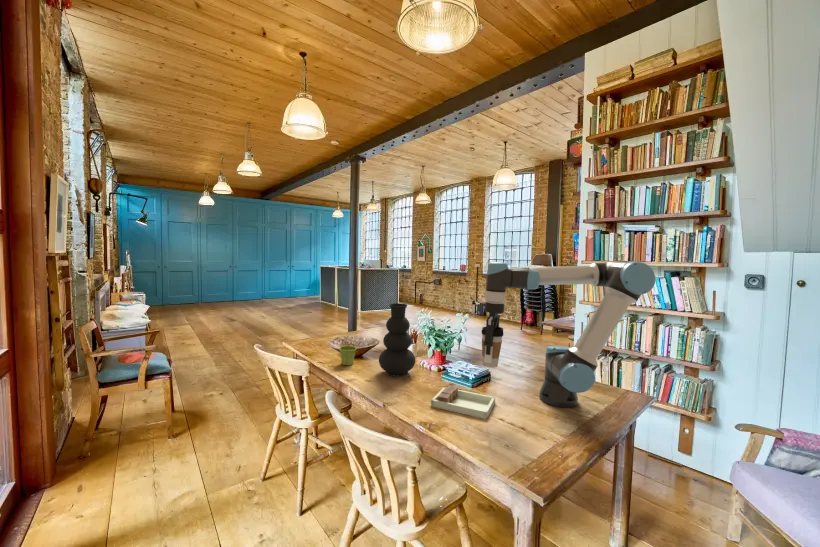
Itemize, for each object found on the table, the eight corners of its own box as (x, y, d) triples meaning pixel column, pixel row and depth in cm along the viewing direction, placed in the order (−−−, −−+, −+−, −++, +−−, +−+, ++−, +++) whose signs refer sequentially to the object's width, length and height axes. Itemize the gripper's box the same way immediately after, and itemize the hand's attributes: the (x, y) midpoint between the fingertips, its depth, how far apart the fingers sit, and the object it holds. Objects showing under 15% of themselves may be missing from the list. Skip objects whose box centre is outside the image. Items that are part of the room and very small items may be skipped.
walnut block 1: (449, 404, 140) (450, 394, 139) (447, 408, 136) (447, 398, 136) (440, 402, 141) (440, 392, 141) (437, 406, 137) (437, 396, 137)
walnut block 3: (457, 396, 147) (457, 387, 147) (454, 400, 144) (454, 390, 143) (448, 394, 149) (448, 385, 149) (445, 398, 145) (445, 388, 145)
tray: (494, 405, 142) (495, 397, 141) (486, 421, 128) (486, 412, 128) (443, 394, 151) (444, 386, 151) (431, 408, 137) (431, 400, 137)
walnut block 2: (453, 399, 144) (453, 390, 143) (450, 403, 140) (450, 393, 140) (444, 397, 145) (444, 388, 145) (441, 401, 142) (441, 392, 141)
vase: (402, 382, 163) (404, 309, 161) (371, 375, 172) (372, 305, 170) (421, 371, 179) (423, 304, 177) (391, 365, 188) (392, 300, 186)
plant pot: (350, 360, 195) (351, 344, 195) (359, 364, 188) (359, 348, 187) (335, 363, 189) (335, 347, 189) (344, 367, 182) (344, 351, 181)
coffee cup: (501, 369, 132) (504, 330, 131) (478, 367, 133) (481, 328, 132) (500, 363, 140) (503, 326, 139) (479, 360, 142) (481, 324, 141)
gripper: (490, 298, 146) (486, 351, 147) (478, 304, 127) (474, 365, 129) (509, 300, 143) (504, 355, 144) (499, 306, 124) (494, 369, 126)
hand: (490, 359), depth 137 cm, fingers closed on coffee cup, 7 cm apart
